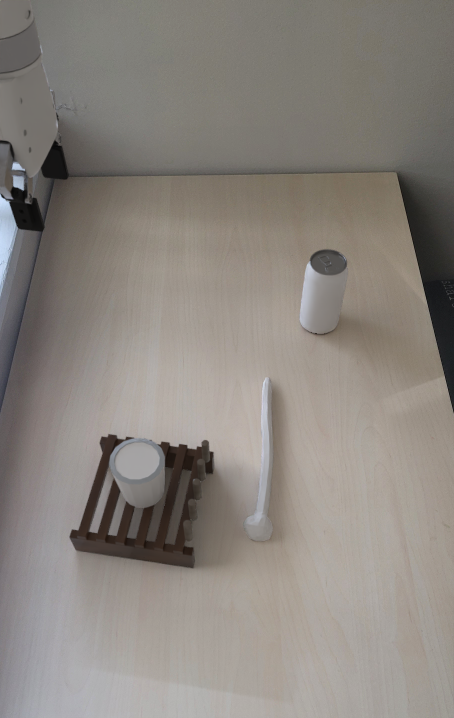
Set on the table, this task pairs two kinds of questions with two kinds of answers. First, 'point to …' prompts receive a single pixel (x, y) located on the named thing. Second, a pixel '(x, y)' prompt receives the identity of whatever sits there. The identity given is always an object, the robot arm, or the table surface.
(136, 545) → the rack
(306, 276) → the can
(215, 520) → the table surface
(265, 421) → the white spoon
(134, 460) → the white cup
